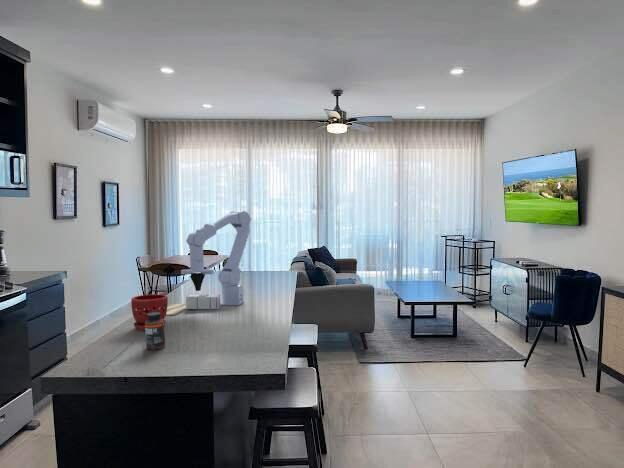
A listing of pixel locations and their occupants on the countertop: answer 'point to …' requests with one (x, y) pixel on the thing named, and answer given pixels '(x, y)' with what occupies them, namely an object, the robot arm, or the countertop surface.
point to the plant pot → (146, 303)
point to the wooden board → (175, 309)
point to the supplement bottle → (154, 331)
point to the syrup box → (202, 301)
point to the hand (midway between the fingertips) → (198, 290)
